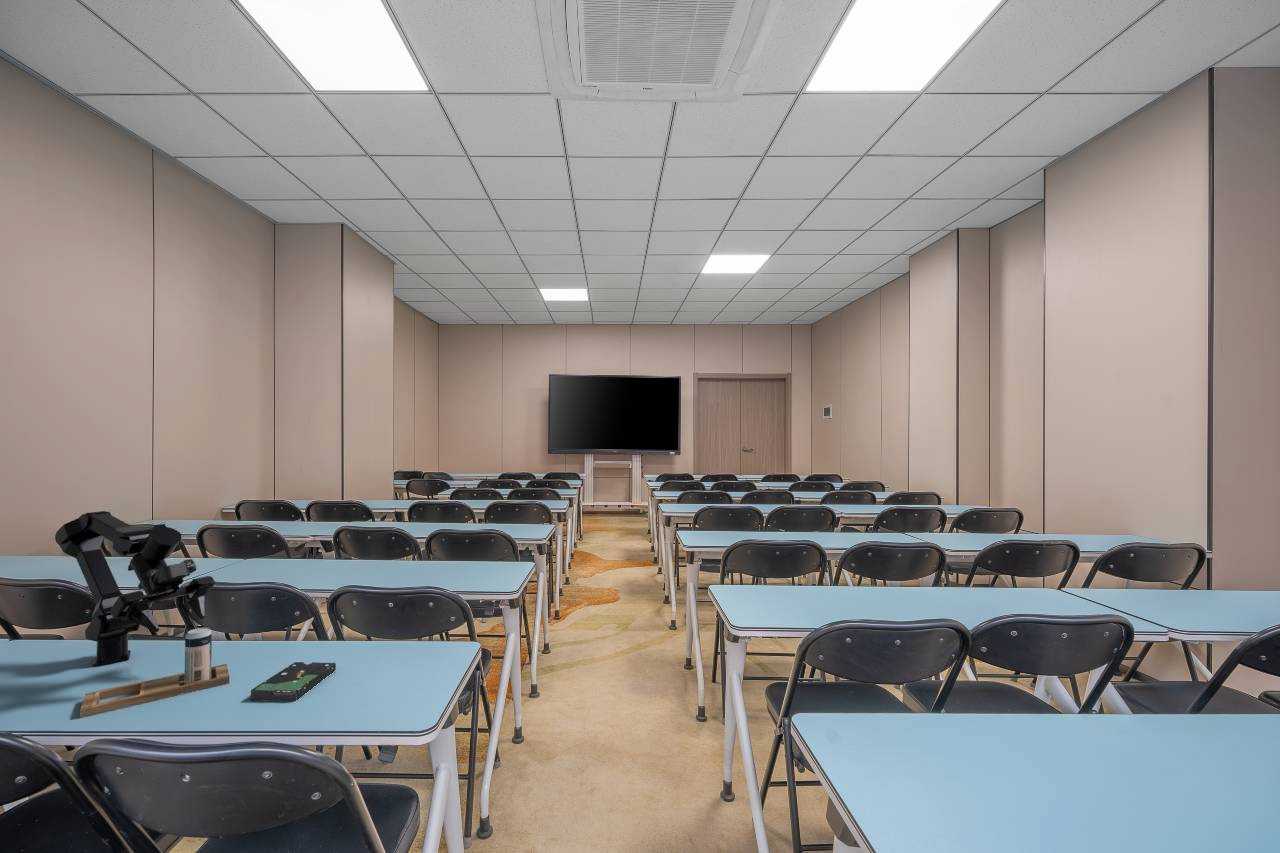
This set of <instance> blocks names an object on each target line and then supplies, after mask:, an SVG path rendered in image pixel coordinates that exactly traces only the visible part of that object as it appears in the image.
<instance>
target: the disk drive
mask: <svg viewBox="0 0 1280 853" xmlns="http://www.w3.org/2000/svg"><path fill="white" fill-rule="evenodd" d="M336 666H337V663H336V662H316V661H315V662H311V663H309V664H306V663H305V662H304V661H295V662H293V663H292V664H290V665H288V666H287V667H285V668H283V669H282V670H281V671H278V672H277V673H275V674H274V675H272V676H271V677H269V678H267V679H266V680H264V681H263V682H261V683H259V684H258V685H256V686H255V687H254V688H252V689H251V690H250V701H260V700H281V701H280V702H297V701H299V700H300V699H301V698H302V697H301V696H303V695H304V694H305V693H307V692H308V691H309V690H311V689H312V688H313V687H314V686H316V685H317V684H318V683H320V682H321V681H322V680H323V679H325V678H326V677H327V676H329V675H330V674H332V673H333V672H334V671H335V670H336V668H337V667H336ZM334 673H335V672H334ZM334 673H333V674H334ZM333 674H332V675H333ZM329 677H330V676H329ZM325 680H326V679H325ZM321 683H322V682H321ZM321 683H320V684H321ZM317 686H318V685H317ZM317 686H316V687H317ZM313 689H314V688H313ZM313 689H312V690H313ZM312 690H311V691H312ZM309 692H310V691H309ZM309 692H308V693H309ZM308 693H307V694H308ZM304 696H305V695H304ZM304 696H303V697H304ZM300 697H301V698H300ZM299 698H300V699H299ZM298 699H299V700H298ZM296 700H297V701H296Z"/></svg>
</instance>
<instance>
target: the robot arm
mask: <svg viewBox="0 0 1280 853" xmlns="http://www.w3.org/2000/svg"><path fill="white" fill-rule="evenodd" d="M182 538H183V537H182V533H181V532H180V531H179V530H177V529H175V528H172V527H168V526H166V524H165V523H160V524H154V525H153V527H145V526H132V525H130V524H129V523H126V522H125V521H123V520H121V519H120V518H117V517H115V516H113V515H112V514H111V512H110V511H105V510H101V511H92V512H85V513H82V514H81V515H80V516H79V517H78V518H75V519H73V520H71V521H69V522H67V523H63V525H62V526H61V527H60V528H59V529H58V530H57V531H56V532H55V534H54V539H55V542H56V544H57V545H58V546H59V548H60V549H61V551H62V552H63V553H64V554H65V555H66V554H67V555H68V556H69V557H73V558H75V560H76V561H77V564H78V566H79V568H80V571H81V573H82V575H83V578H84V579H85V582H86V584H87V587H88V589H89V591H90V593H91V596H92V598H93V600H94V602H95V607H94V610H93V612H92V615H91V619H92V620H91V621H90V622H89V624H88V625H87V627H86V629H85V630H84V633H85V638H86V640H89V641H91V642H96V656H95V657H94V659H93V663H92V666H93V667H96V666H102V665H108V664H112V663H118V662H123V661H127V660H128V661H129V660H130V656H131V652H132V650H130V649H129V633H131V632H136V631H139V629H140V626H142V627H144V628H145V629H148V630H150V631H151V632H154V633H158V632H159V631H160V627H159V625H158V622H157V620H156V619H155V617H154V615H153V614H152V611H151V610H150V606H149V604H152V603H156V602H157V603H158V602H162V601H166V600H170V599H174V598H178V597H182V596H185V598H186V599H187V600H188V601H187V604H188V605H189V607H190V608H191V610H192V612H194V614H195V615H196V616H197V617H198V618H199V619H200V620H203V619H204V618H205V617H206V616H205V610H206V609H205V598H206V597H207V596H208V594H209V593H210V591H211V590H212V589H213V587H214V586H215V585H216V581H215V579H214V578H213V576H211V575H205V576H201V577H196V578H193V579H192V580H191V581H190V582H189V584H188V585H186V586H181V587H180V585H182V584H183V583H184V581H185V580H184V579H185V578H186V577H189V576H190V575H191V574H192V573H195V572H196V571H197V565H196V562H195V561H194V559H192V558H190V559H185V560H183V561H181V562H179V563H174V564H170V565H168V564H167V562H166V560H165V559H168V558H169V557H170V556H171V555H172V554H173V552H174V551H175V549H176V547H177V546H178V544H179V543H180V542H181V540H182ZM105 539H107V540H109V541H110V542H112V550H114V552H116V554H118V555H119V556H121V557H125V556H131V555H133V557H132V558H131V559H130V561H129V565H128V566H127V571H128V572H131V571H134V573H135V575H136V577H137V579H138V581H139V583H138V585H137V588H138V589H139V590H137V591H132V592H131V591H130V592H127V593H122V591H121V590H120V588H119V586H118V585H119V584H118V583H117V581H116V579H115V577H114V575H113V573H112V570H111V568H110V566H109V564H108V561H107V559H106V557H105V554H104V552H103V551H102V546H103V543H104V541H105ZM141 589H143V591H144V592H143V591H140V590H141ZM144 593H145V594H144Z"/></svg>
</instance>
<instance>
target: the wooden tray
mask: <svg viewBox="0 0 1280 853" xmlns="http://www.w3.org/2000/svg"><path fill="white" fill-rule="evenodd" d="M214 675H216V676H215V677H213V678H211V679H208V680H204V681H200V682H195V683H191V684H186V685H184V684H183V685H180V683H181V681H183V682H184V677H185V672H182V673H177V674H172V675H169V676H164V677H159V678H155V679H149V680H141V681H137V682H133V683H128V684H124V685H119V686H115V687H110V688H106V689H99V690H95V691H93V692H89V693H85V694H84V698H83V700H82V703H81V706H80V710H79V719H82V718H85V717H91V716H95V715H99V714H103V713H108V712H112V711H116V710H121V709H125V708H129V707H133V706H138V705H142V704H146V703H151V702H155V701H159V700H164V699H167V698H172V697H175V696H174V695H177V696H179V695H178V694H181V693H185V694H187V693H186V692H190V693H193V692H192V691H194V692H197V691H196V690H198V691H202V690H201V689H203V690H205V689H206V688H207V689H211V688H214V686H215V687H218V686H217V685H220V686H222V684H224V685H227V684H226V683H228V684H230V673H229V669H228V664H227V663H224V664H220V665H219V664H218V665H215V666H211V676H214ZM210 687H211V688H210ZM137 692H139V694H136V695H132V696H127V697H123V698H119V699H113V700H108V701H104V702H100V701H101V700H104V699H105V700H106V699H111V698H115V697H118V696H119V695H120V696H123V695H127V694H128V695H129V694H132V693H137ZM181 695H182V694H181ZM99 702H100V703H99Z"/></svg>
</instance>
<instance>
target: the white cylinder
mask: <svg viewBox="0 0 1280 853" xmlns="http://www.w3.org/2000/svg"><path fill="white" fill-rule="evenodd" d="M212 634H213V632H212V631H211V629H210V628H209V627H198V628H194V629H190V630H189V631H187V633H186V635H185V637H184V673H185V677H184V681H183V682H184V684H183V685H186V684H191V683H195V682H200V681H204V680H208V679H212V675H211V667H212V655H213V654H212V653H213V652H212V647H213V646H212V645H213V642H212V641H213V640H212V639H213V638H212V637H213V635H212Z"/></svg>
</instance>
